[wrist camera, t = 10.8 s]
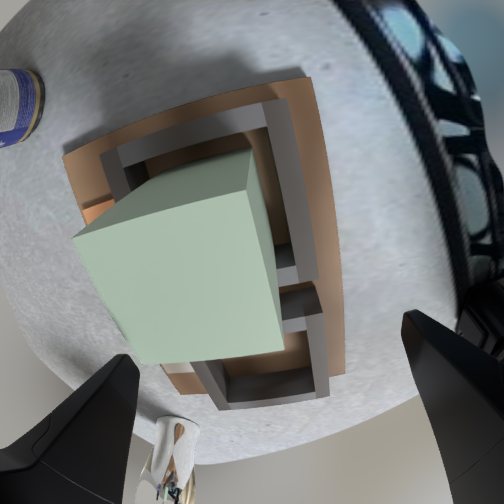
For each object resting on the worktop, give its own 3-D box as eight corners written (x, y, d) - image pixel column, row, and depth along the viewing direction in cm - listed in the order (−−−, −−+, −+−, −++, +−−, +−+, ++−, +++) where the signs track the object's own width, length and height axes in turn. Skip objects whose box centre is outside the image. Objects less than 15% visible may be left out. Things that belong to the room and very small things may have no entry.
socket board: (308, 78, 14) (322, 68, 11) (343, 367, 25) (351, 397, 22) (68, 154, 16) (35, 166, 13) (181, 388, 27) (175, 417, 24)
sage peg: (252, 146, 16) (245, 190, 7) (271, 231, 18) (284, 349, 9) (164, 169, 16) (71, 238, 7) (190, 248, 19) (142, 364, 10)
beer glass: (146, 423, 32) (124, 513, 19) (165, 408, 30) (142, 515, 16) (189, 440, 34) (176, 528, 21) (213, 427, 31) (202, 529, 18)
